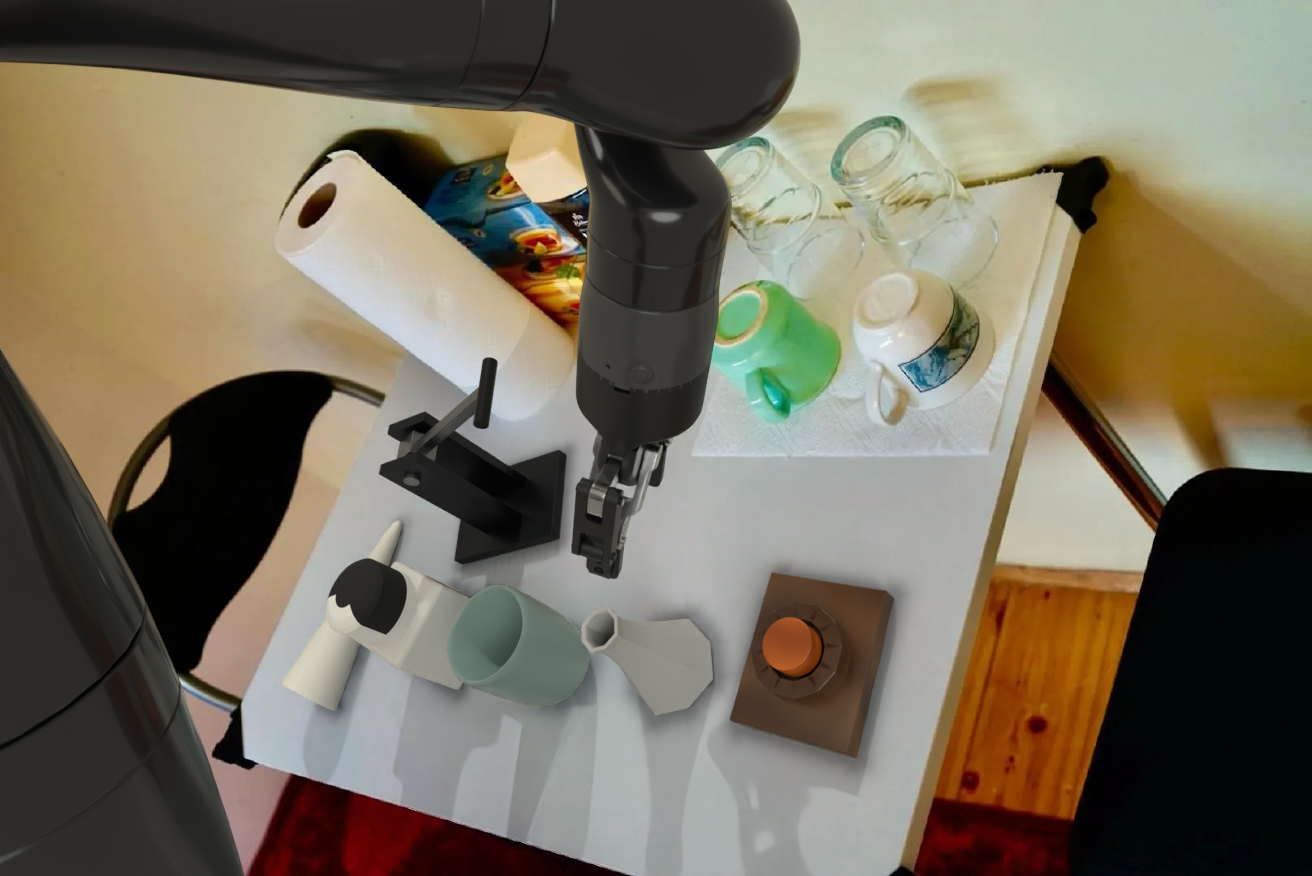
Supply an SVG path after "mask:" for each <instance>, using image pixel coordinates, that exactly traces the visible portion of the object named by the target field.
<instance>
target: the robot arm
mask: <svg viewBox="0 0 1312 876" xmlns="http://www.w3.org/2000/svg"><path fill="white" fill-rule="evenodd" d="M798 25H799V24H798V21H797V19H796V15H795V13H794V11H793V9H792V7H791V4H790V3H789V1H788V0H0V63H3V64H4V63H5V64H25V65H27V64H29V65H30V64H31V65H53V66H54V65H55V66H69V67H70V66H71V67H84V68H98V69H111V70H123V71H132V72H133V71H134V72H143V73H152V74H161V75H171V76H179V77H186V78H194V79H202V80H209V81H210V80H211V81H218V82H226V83H233V84H234V83H235V84H241V85H250V86H256V87H263V88H270V89H276V90H277V89H278V90H283V91H291V92H298V93H305V94H311V95H312V94H313V95H319V96H326V97H327V96H329V97H335V98H342V99H351V100H360V101H369V102H375V103H386V104H396V105H408V106H417V107H419V106H420V107H429V108H441V109H443V108H444V109H458V110H471V111H482V112H483V111H484V112H507V113H519V112H520V113H521V112H522V113H534V114H540V115H543V116H546V117H551V118H556V119H559V120H563V121H565V122H569V123H573V129H574V132H575V139H576V144H577V149H578V154H579V158H580V162H581V166H582V169H583V173H584V177H585V181H586V186H587V191H588V212H587V222H586V223H587V226H586V246H585V269H584V277H583V281H582V285H581V291H580V295H579V303H578V304H579V305H578V322H577V323H578V324H577V346H576V348H577V349H576V351H577V352H576V373H575V374H576V375H575V400H576V404H577V407H578V408H579V410H580V412H581V414H582V416H583V417H584V418H585V420H587V422H588V423H589V424H590V425H591V426H592V427H593V428H594V429H595V430H596V435H595V439H594V442H593V446H592V455H593V457H594V458H593V461H592V462H593V463H592V465H591V469H590V473H589V477H588V478H586V477H581V478H580V479H579V480H578V481H579V482H577V483H576V485H575V498H574V510H573V521H572V522H573V524H572V536H571V537H572V538H571V545H570V548H571V549H570V550H571V554H573V555H576V556H578V557H579V556H581V557H583V558H586V561H585V568H586V569H587V571H588V573H589V574H592V575H595V576H598V577H601V578H604V579H608V580H610V579H611V580H616V579H618V578H619V575H620V574H621V572H622V569H623V560H624V552H625V544H626V542H627V539H628V538H627V533H628V529H629V526H630V522H631V520H632V519H631V518H632V517H633V516H635V515H636V514H637V513H639V512H640V511H641V510H642V508H643V505H644V501H645V500H646V499H645V498H646V495H647V491H648V488H649V487H652V488H657V487H660V485H661V483H662V481H663V479H664V474H665V467H666V459H667V454H668V453H667V452H668V447H670V445H672V443H673V441H674V438H675V437H678V436H680V435H681V434H683V433H685V432H687V430H689V429H690V428H691V427H692V426H694V424H695V422H696V421H697V420H698V419H699V417H700V415H701V413H702V411H703V407H704V404H705V403H704V402H705V396H706V391H707V386H708V379H709V374H710V370H711V369H710V368H711V364H712V362H711V361H712V358H713V352H714V346H715V341H716V335H717V331H718V323H719V317H720V316H719V315H720V287H721V278H722V272H723V267H724V261H725V256H726V250H727V244H728V238H729V233H730V228H731V220H732V213H733V198H732V191H731V188H730V184H729V182H728V181H727V179H726V177H725V175H724V174H723V172H722V170H720V168H719V167H718V166H717V164H716V163H715V162H714V160H713V159H712V158H711V157H710V156H709V155H708V153H707V152H706V151H710V150H711V151H712V150H717V149H722V148H726V147H729V146H733V145H735V144H738V143H740V142H742V141H744V140H747V139H748V138H750V137H752V136H753V135H755V134H757V133H758V132H759V131H761V130H762V129H764V128H765V127H766V126H767V125H769V124H770V122H772V120H774V118H775V117H776V116H777V115H778V114H779V113H780V112H781V110H782V109H783V107H784V106H785V104H786V103H787V102H788V99H789V98H790V96H791V94H792V92H793V89H794V87H795V84H796V81H797V78H798V75H799V70H800V64H801V59H802V56H801V55H802V43H801V42H802V41H801V34H800V28H799V26H798ZM617 484H620V485H623V486H626V487H635V488H634V492H633V496H632V497H628V496H625V495H624V493H625V491H624V490H623V489H620V488H618V487H617ZM220 793H221V792H220V790H219V788H218V784H217V780H216V778H215V775H214V771H213V769H212V766H211V764H210V761H209V758H208V755H207V752H206V749H205V746H204V744H203V741H202V738H201V735H200V733H199V731H198V728H197V725H196V722H195V719H194V716H193V713H192V711H191V708H190V705H189V702H188V699H187V696H186V694H185V691H184V687H183V686H182V683H181V680H180V676H179V675H178V673H177V671H176V669H175V667H174V664H173V662H172V660H171V656H170V655H169V653H168V650H167V648H166V646H165V643H164V641H163V639H162V636H161V634H160V631H159V630H158V627H157V625H156V623H155V620H154V617H153V616H152V613H151V610H150V608H149V607H148V603H147V601H146V599H145V596H144V594H143V591H142V590H141V587H140V585H139V583H138V581H137V579H136V578H135V575H134V574H133V571H132V569H131V567H130V566H129V564H128V562H127V560H126V557H125V555H124V554H123V552H122V551H121V548H120V547H119V545H118V542H117V541H116V539H115V537H114V535H113V533H112V531H111V529H110V526H109V524H108V522H107V520H106V519H105V516H104V514H103V513H102V511H101V509H100V507H99V505H98V503H97V501H96V499H95V498H94V496H93V494H92V492H91V491H90V489H89V487H88V486H87V484H86V482H85V480H84V478H83V476H82V475H81V473H80V471H79V469H78V468H77V467H76V465H75V463H74V461H73V460H72V458H71V456H70V454H69V453H68V451H67V449H66V447H65V446H64V444H63V442H62V441H61V439H60V438H59V436H58V434H57V433H56V431H55V430H54V428H53V426H52V425H51V423H50V422H49V420H48V419H47V417H46V415H45V414H44V412H43V411H42V409H41V407H40V406H39V404H38V403H37V401H36V400H35V398H34V396H33V395H32V393H31V392H30V390H29V389H28V387H27V385H26V384H25V382H24V381H23V379H22V378H21V376H20V374H19V373H18V372H17V370H16V368H15V367H14V365H13V364H12V362H11V360H10V359H9V357H8V355H7V354H6V352H5V350H4V347H2V345H1V344H0V876H245V872H244V868H243V865H242V861H241V857H240V854H239V851H238V848H237V844H236V841H235V837H234V834H233V831H232V828H231V824H230V820H229V818H228V814H227V812H226V809H225V806H224V802H223V800H222V797H221V794H220Z"/></svg>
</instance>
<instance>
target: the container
mask: <svg viewBox="0 0 1312 876" xmlns="http://www.w3.org/2000/svg"><path fill="white" fill-rule="evenodd" d="M471 597H472V596H470V595H468V594H467V593H464V592H463V591H461V590H459V589H457V588H455V587H453V586H450V585H449V584H446V583H445V582H442V581H440V580H438V579H436V578H434V577H432V576H430V575H427V574H425V573H423V572H421V571H419V570H416V569H414V568H413V567H411V566H408V565H406V564H404V563H402V562H400V561H394V562H392V564H391V566H390V565H389V566H387V565H384V564H382V563H380V562H378V561H376V560H373V559H370V558H368V557H365V558H361V559H359V560H356V561H354V562H351V563H350V564H349V565H347V566H346V567H345V568H344V569H343V570H342V571H341V572H340V573H339V575H338V576H337V578H336V579H335V581H334V582H333V584H332V586H331V588H330V591H329V593H328V596H327V599H326V600H327V601H326V605H325V606H326V607H325V614H326V616H327V619H328V623H329V625H330V627H331V628H332V629H333V630H334V631H335V632H337V633H339V634H342V635H345V636H348V637H350V638H353V639H354V640H355V641H357V642H358V643H360V646H363V647H364V648H366V649H367V650H369V651H370V652H372V653H373V654H375V655H376V656H378V657H379V658H381V659H382V660H384V661H385V662H386V663H388V664H389V665H391V666H392V667H393V668H395V669H396V670H400V671H403V672H405V673H408V674H410V675H414V676H416V677H419V678H422V679H425V680H427V681H430V682H434V683H436V684H438V685H441V686H444V687H446V688H447V687H448V688H450V689H453V690H460V689H461V687H462V686H463V684H464V683H463V682H462V681H460V680H459V679H458V678H457V677H456V675H455V674H454V672H453V670H452V668H451V666H450V662H449V659H448V651H447V644H448V636H449V632H450V628H451V626H452V623H453V621H454V619H455V617H456V616H457V614H458V612H459V611H460V610H461V608H462V607H463V606H464V605H465V603H466V602H467V601H468V600H469V599H470V598H471Z"/></svg>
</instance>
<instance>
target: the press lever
mask: <svg viewBox="0 0 1312 876" xmlns="http://www.w3.org/2000/svg"><path fill="white" fill-rule="evenodd" d="M498 365H499V362H498V360H497V359H496V358H494V357H491V356H487V357H485V358H483V359H482V362H481V369H480V374H479V375H480V376H479V382H478V387H476V388H475V389H474V390H473V391H472V392H471V393H470V394H469V395H467V396H466V397H465V398H464V399H463V400H462V401H461V402H459V403H458V405H456V406H455V407H454V408H453V409H452V410H451V411H449V412H448V413H447V414H446V415H445V416H444V417H443V418H442V419H439V422H438V423H437V424H436V425H435V426H434V427H432V428H431V429H430V430H429V431H428V432H427V433H426V434H423V433H420V432H417V431H415V430H413V431H412V432H411V433H410V434H409V435H408V436H407V437H406V438H404V439H403V440H402V441H401V442H399V445H398V449H397V453H396V459H397V458H400V457H403V456H406V455H409V454H412V453H414V452H419V453H421V454H423V455H424V456H426V457H428V458H429V459H431V460H433V461H435V458H436V452H437V446H438V444H440V443H441V442H442V441H443V440H444V439H446V438H447V437H448V436H449V435H450V434H451V433H453V432H454V431H456V430H457V429H459V428H460V427H461V426H463V424H465V423H466V422H467V421H468V420H469V419H470V418H472V417H473V421H472V425H473V427H474V428H476V429H479V430H486V429H488V428H489V427H490V422H491V421H490V420H491V414H492V407H493V399H494V393H495V387H496V386H495V385H496V378H497V373H498V372H497V371H498Z"/></svg>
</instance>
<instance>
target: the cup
mask: <svg viewBox="0 0 1312 876" xmlns="http://www.w3.org/2000/svg"><path fill="white" fill-rule="evenodd" d="M470 597H471V598H470V599H469V600H468V601H467V602H466V603H465V605H464V606H463V607H462V608H461V610H460V611H459V612H458V614H457V616H456V617H455V619H454V621H453V623H452V626H451V628H450V632H449V636H448V644H447V651H448V659H449V662H450V666H451V668H452V670H453V672H454V674H455V675H456V677H457V678H458V679H459V680H460V681H462V682H463V684H464V685H466V686H468V687H470V688H471V689H475V690H476V691H480V692H483V693H485V694H487V695H491V696H494V697H497V698H499V699H503V700H505V701H508V702H512V703H515V704H518V705H523V706H529V707H549V706H553V705H557V704H559V703H561V702H563V701H565V700H567V699H568V698H569V697H570V696H572V695H573V694H574V693H575V692H576V691H577V690H578V688H580V686H581V685H582V683H583V681H584V680H585V678H586V675H587V674H588V673H587V672H588V670H589V665H590V652H589V651H588V649H587V648H586V647H585V645H584V644H583V643H582V641H581V631H580V630H579V628H578V627H577V626H576V625H575V624H574V623H573V622H572V621H571V620H570V618H567V617H566V616H565V615H564V614H562V613H561V612H559V611H558V610H557V609H555V608H552V606H549V605H548V604H546V603H544V602H543V601H540V600H539V599H538V598H535V597H533V596H531V595H530V594H527V593H525V592H523V591H521V590H519V589H517V588H515V587H513V586H510V585H506V584H501V583H500V584H492V585H490V586H487V587H484V588H483V589H481V590H479V591H477V592H476V593H475V594H474V595H473V596H470Z"/></svg>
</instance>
